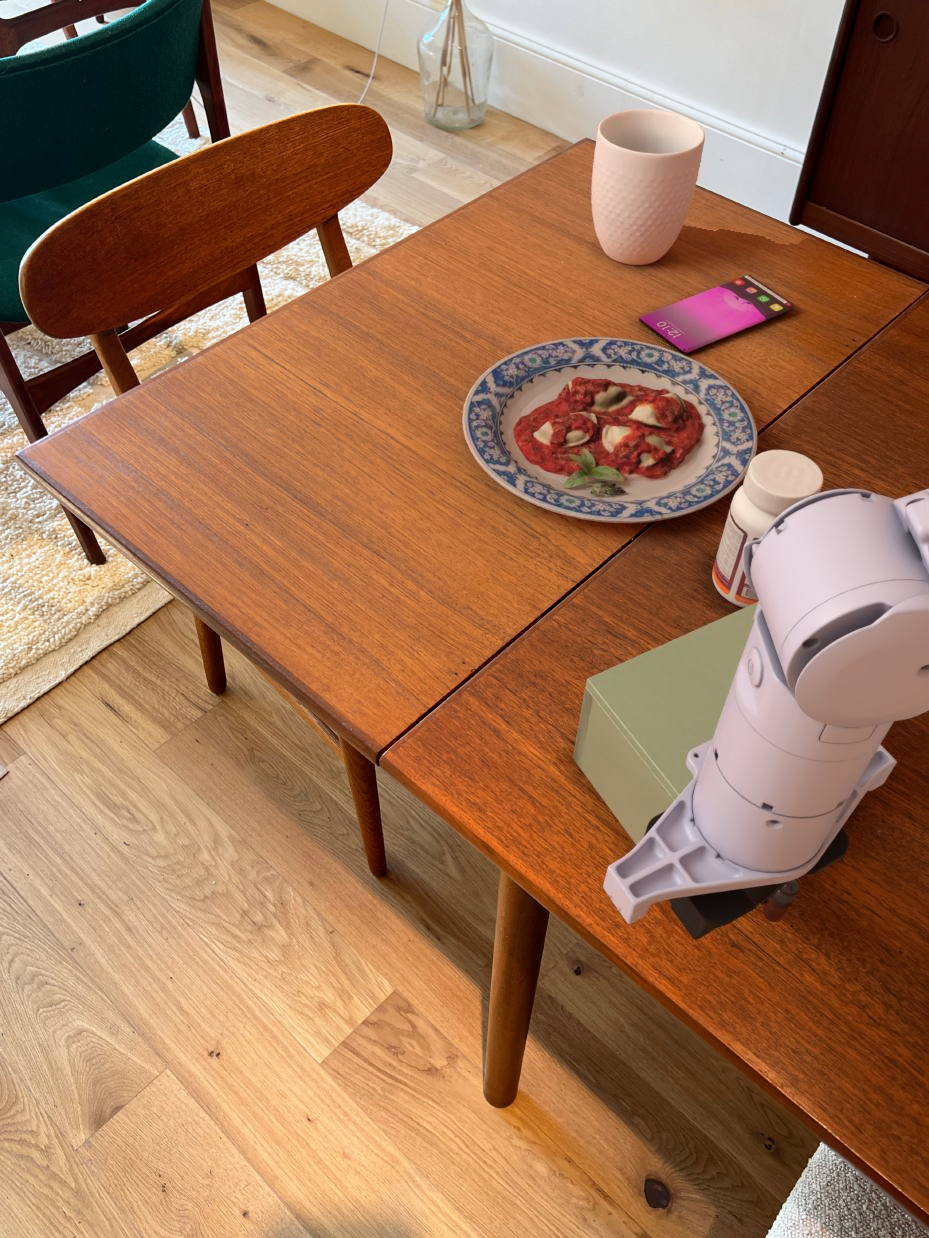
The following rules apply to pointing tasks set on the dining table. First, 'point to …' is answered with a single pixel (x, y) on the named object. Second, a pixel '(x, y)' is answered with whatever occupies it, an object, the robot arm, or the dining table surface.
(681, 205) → the mug
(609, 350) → the ceramic plate
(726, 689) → the cupboard
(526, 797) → the dining table surface
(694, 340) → the smartphone
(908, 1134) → the dining table surface
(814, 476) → the pill bottle
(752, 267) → the dining table surface
